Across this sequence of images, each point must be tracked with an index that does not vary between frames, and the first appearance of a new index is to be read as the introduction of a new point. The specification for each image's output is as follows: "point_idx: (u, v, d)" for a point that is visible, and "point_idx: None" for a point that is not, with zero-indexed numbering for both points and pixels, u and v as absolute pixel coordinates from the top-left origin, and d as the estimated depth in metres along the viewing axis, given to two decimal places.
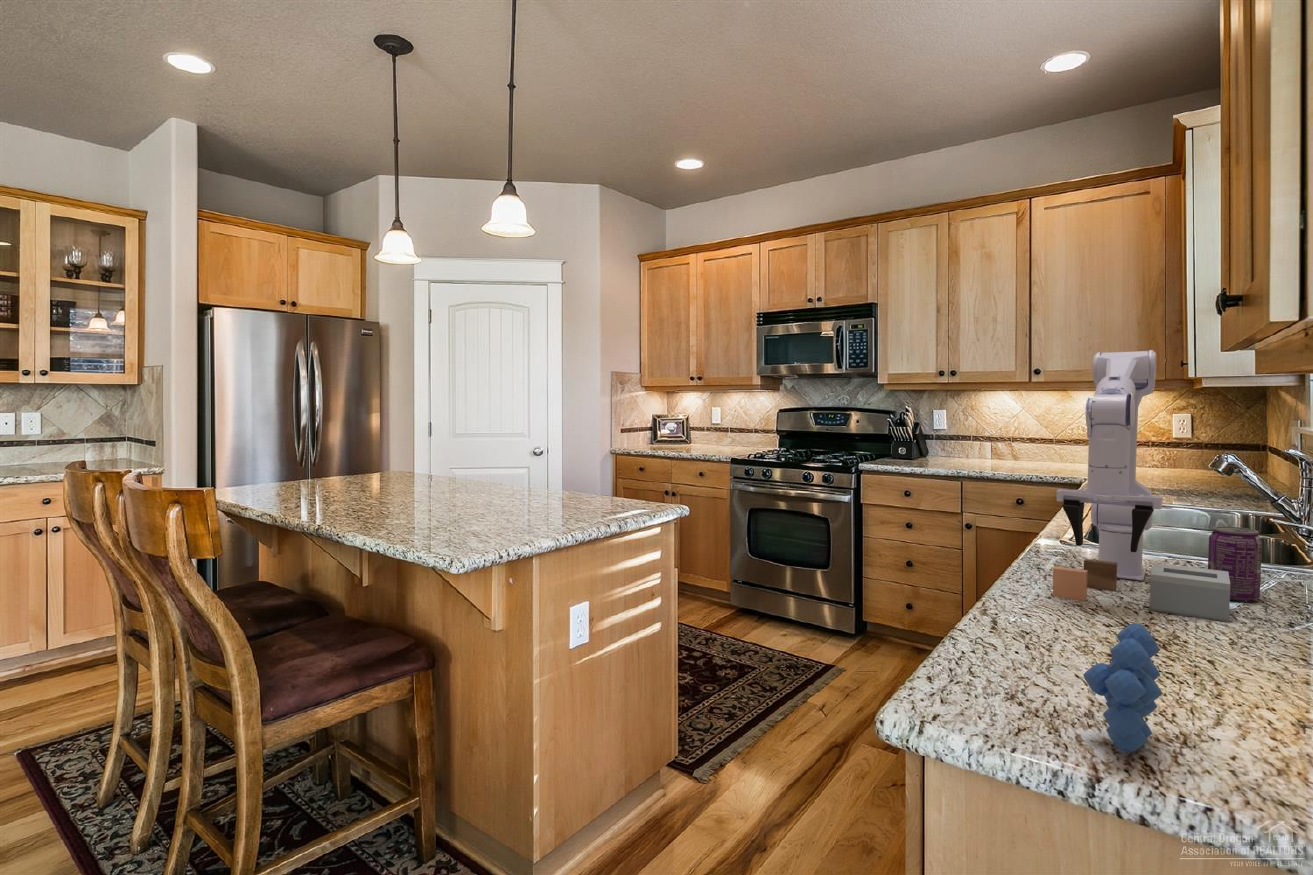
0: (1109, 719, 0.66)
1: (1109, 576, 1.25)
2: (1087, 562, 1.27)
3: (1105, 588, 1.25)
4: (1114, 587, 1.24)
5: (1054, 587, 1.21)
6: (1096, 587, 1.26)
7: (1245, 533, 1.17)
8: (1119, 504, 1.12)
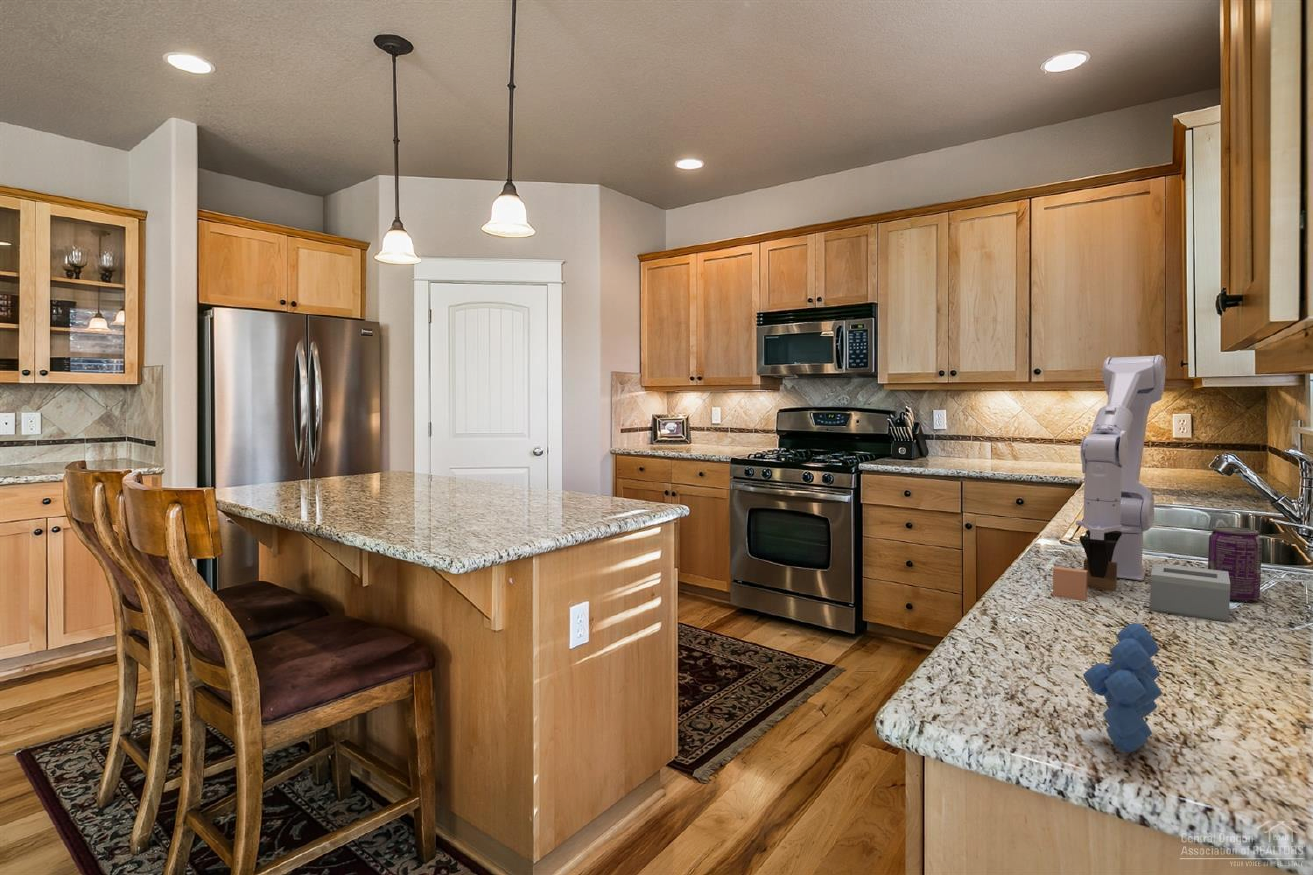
0: (1109, 719, 0.66)
1: (1109, 576, 1.25)
2: (1087, 562, 1.27)
3: (1105, 588, 1.25)
4: (1114, 587, 1.24)
5: (1054, 587, 1.21)
6: (1096, 587, 1.26)
7: (1245, 533, 1.17)
8: None
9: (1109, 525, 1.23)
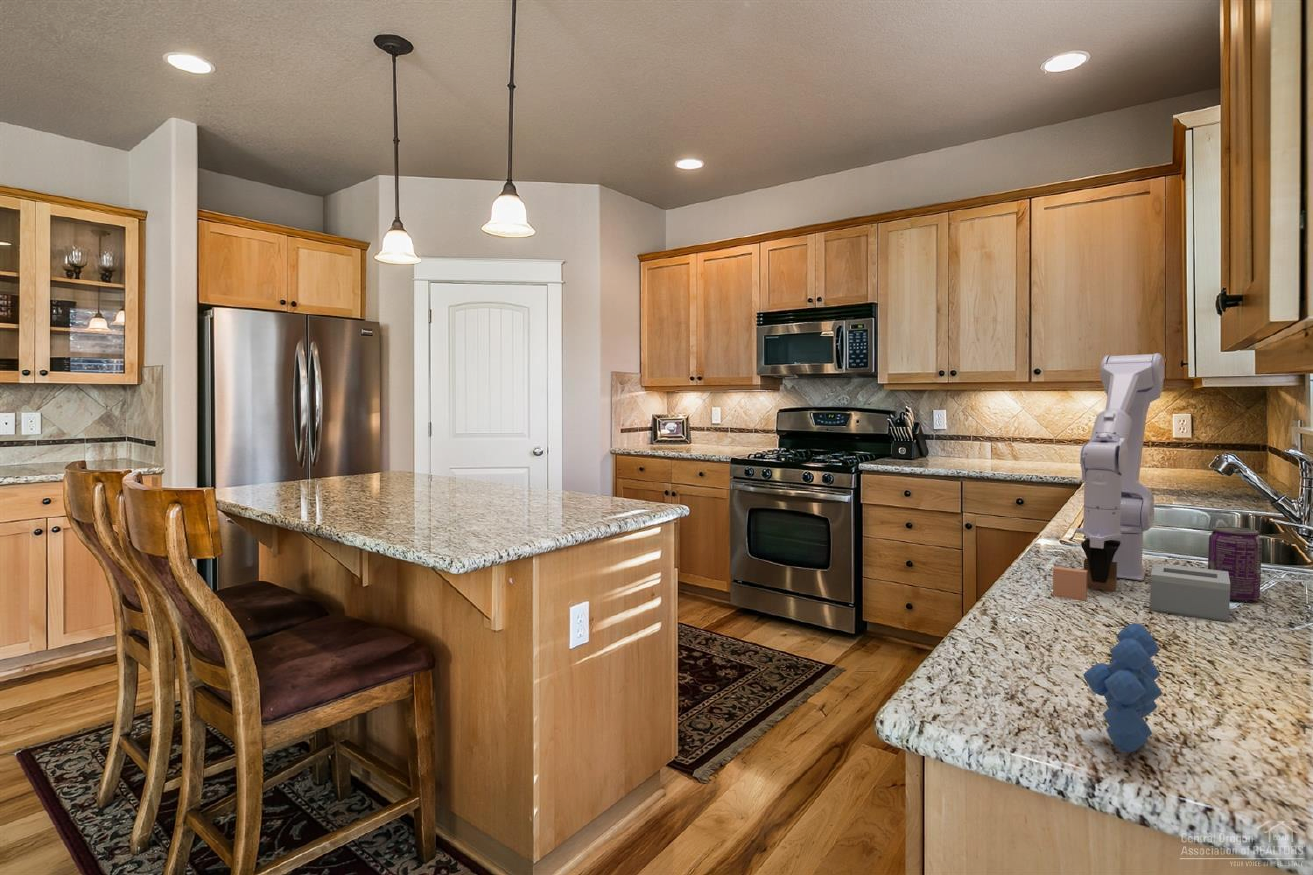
0: (1109, 719, 0.66)
1: (1109, 576, 1.25)
2: (1087, 562, 1.27)
3: (1105, 588, 1.25)
4: (1114, 587, 1.24)
5: (1054, 587, 1.21)
6: (1096, 587, 1.26)
7: (1245, 533, 1.17)
8: None
9: (1109, 533, 1.23)
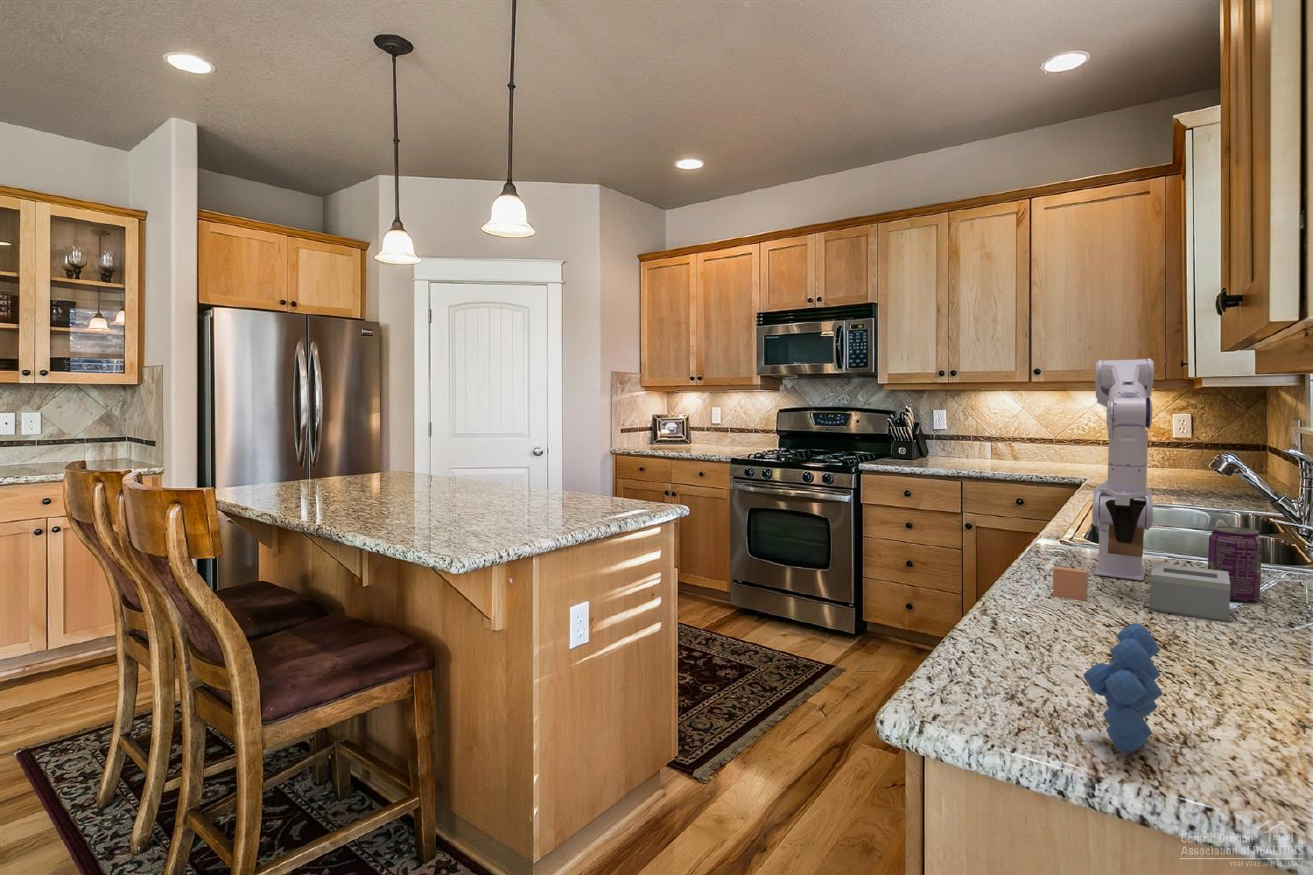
0: (1109, 719, 0.66)
1: (1135, 541, 1.20)
2: (1112, 527, 1.22)
3: (1131, 554, 1.21)
4: (1140, 552, 1.20)
5: (1054, 587, 1.21)
6: (1121, 553, 1.22)
7: (1245, 533, 1.17)
8: None
9: (1135, 491, 1.19)
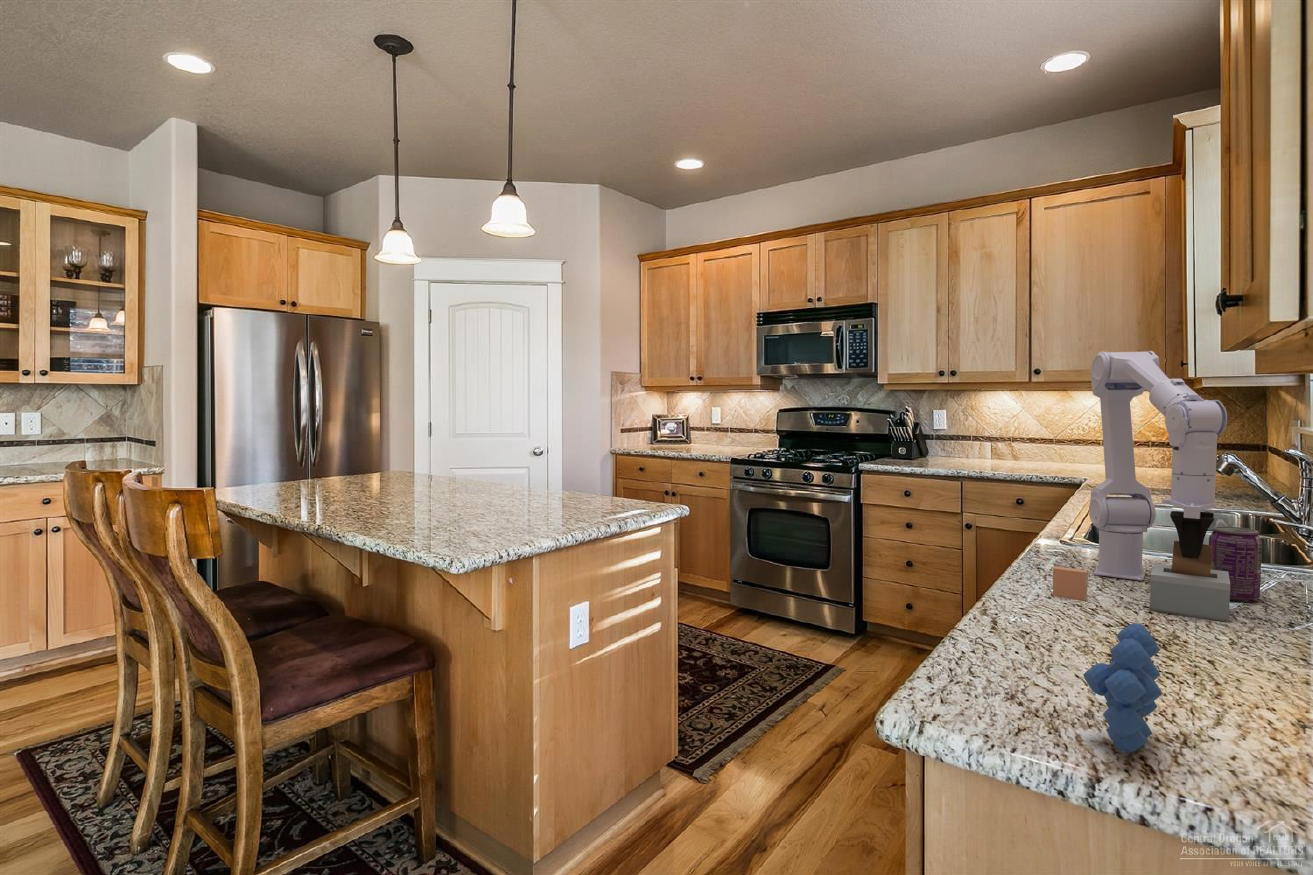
0: (1109, 719, 0.66)
1: (1203, 560, 1.11)
2: (1178, 544, 1.13)
3: (1198, 573, 1.12)
4: (1209, 572, 1.11)
5: (1054, 587, 1.21)
6: (1187, 572, 1.13)
7: (1245, 533, 1.17)
8: None
9: (1203, 502, 1.10)
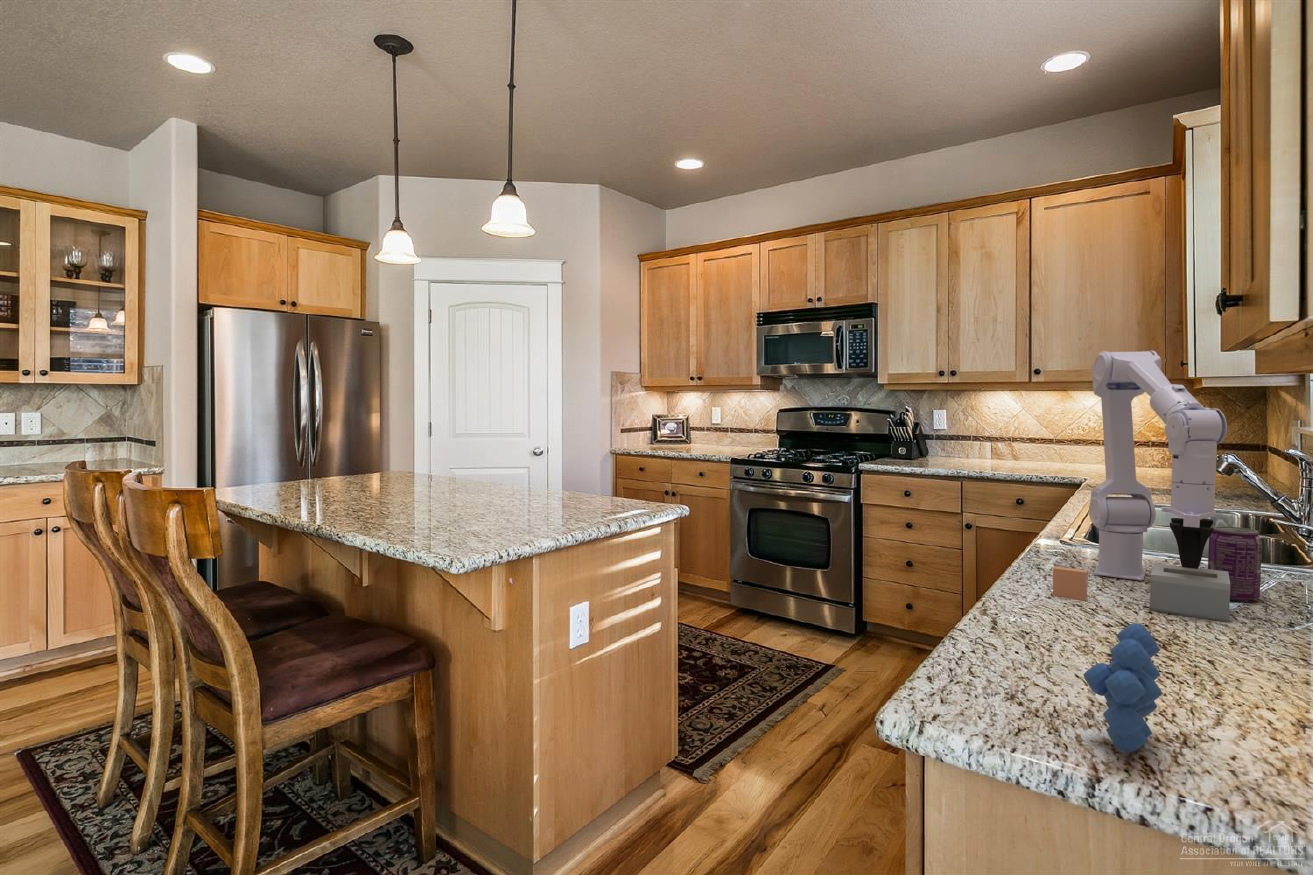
0: (1109, 719, 0.66)
1: None
2: None
3: None
4: None
5: (1054, 587, 1.21)
6: None
7: (1245, 533, 1.17)
8: None
9: (1203, 511, 1.10)
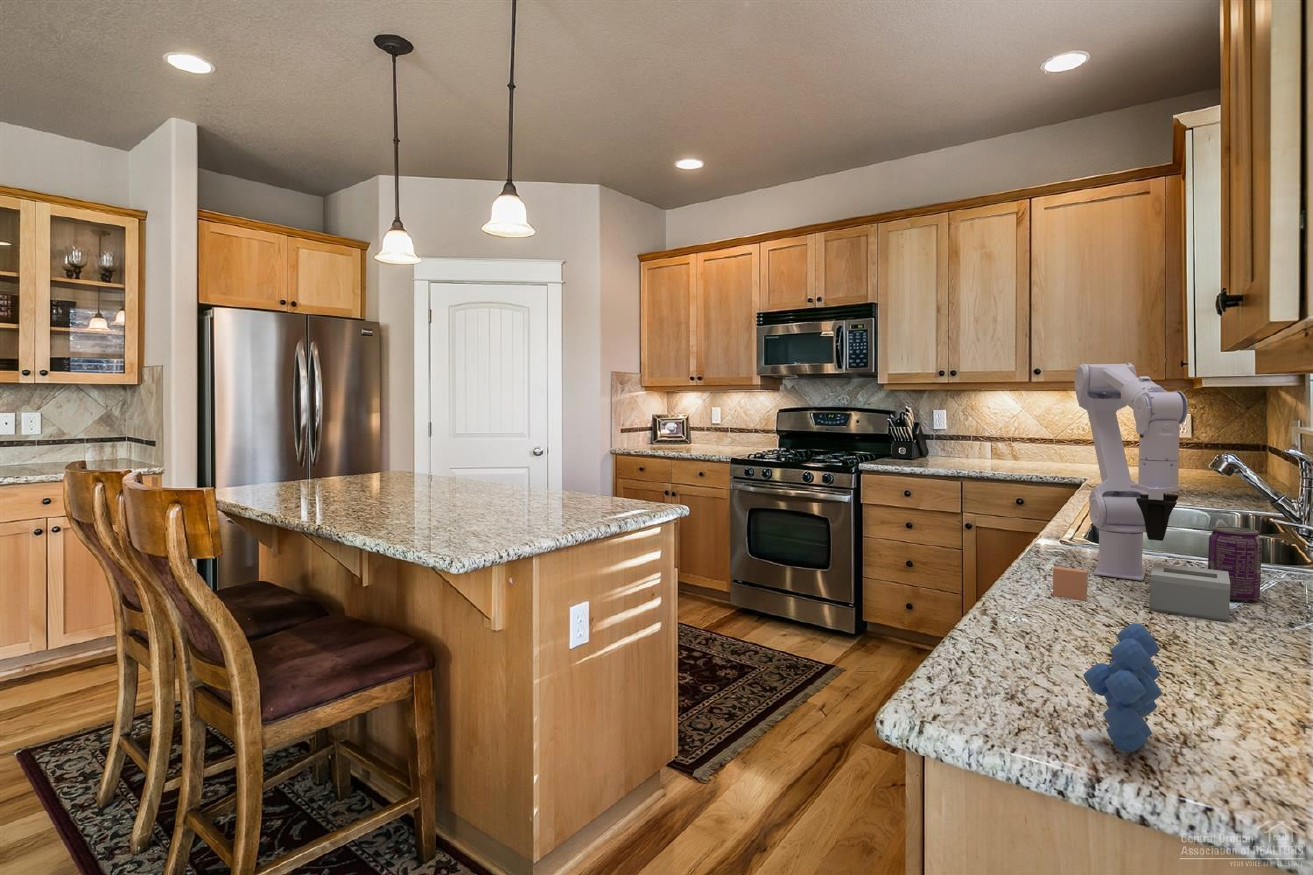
0: (1109, 719, 0.66)
1: None
2: None
3: None
4: None
5: (1054, 587, 1.21)
6: None
7: (1245, 533, 1.17)
8: None
9: (1167, 486, 1.18)
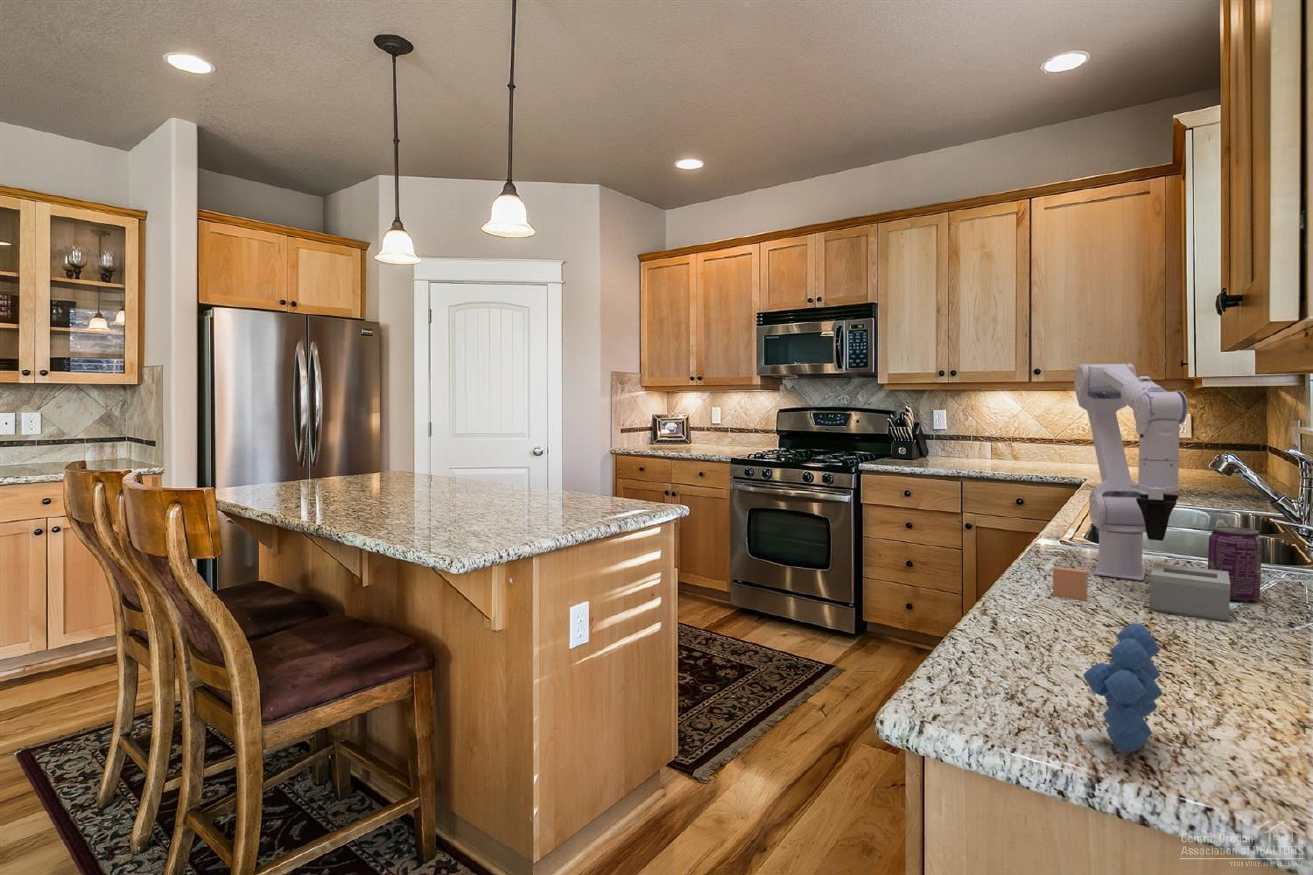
0: (1109, 719, 0.66)
1: None
2: None
3: None
4: None
5: (1054, 587, 1.21)
6: None
7: (1245, 533, 1.17)
8: None
9: (1167, 486, 1.18)
